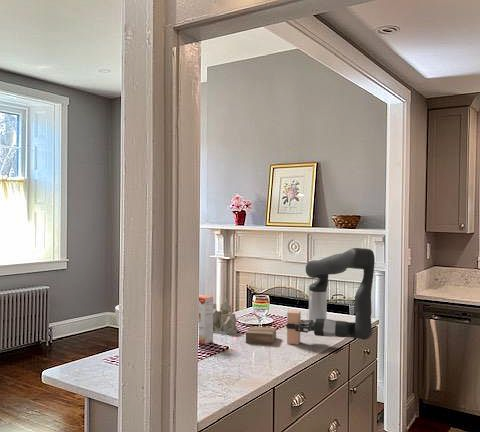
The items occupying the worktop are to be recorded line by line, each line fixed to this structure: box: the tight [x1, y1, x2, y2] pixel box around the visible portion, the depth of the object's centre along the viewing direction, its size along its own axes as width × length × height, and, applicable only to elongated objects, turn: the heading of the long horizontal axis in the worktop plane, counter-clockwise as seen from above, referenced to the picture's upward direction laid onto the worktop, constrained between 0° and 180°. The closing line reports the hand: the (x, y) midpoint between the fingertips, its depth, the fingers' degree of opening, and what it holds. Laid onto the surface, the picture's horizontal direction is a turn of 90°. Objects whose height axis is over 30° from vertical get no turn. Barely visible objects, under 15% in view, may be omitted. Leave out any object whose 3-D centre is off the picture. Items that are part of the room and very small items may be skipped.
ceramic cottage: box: [213, 298, 238, 335], centre depth 243 cm, size 16×16×15 cm
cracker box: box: [198, 294, 214, 345], centre depth 224 cm, size 14×6×21 cm, turn 51°
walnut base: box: [245, 326, 277, 346], centre depth 226 cm, size 12×12×5 cm
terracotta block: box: [286, 309, 302, 345], centre depth 223 cm, size 5×5×14 cm
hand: (288, 324), depth 223 cm, fingers closed on terracotta block, 5 cm apart
